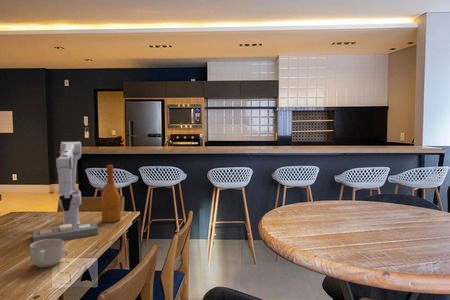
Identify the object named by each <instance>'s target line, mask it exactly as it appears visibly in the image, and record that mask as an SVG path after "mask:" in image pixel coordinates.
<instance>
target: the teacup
mask: <svg viewBox="0 0 450 300" xmlns="http://www.w3.org/2000/svg"><path fill="white" fill-rule="evenodd" d="M64 244H65V241H64V240H60V239H45V240H40V241H36V242H34V243H33V242H31V243H30V245H29V249H30V250H29V257H30V259H29V260H30V262H31V264H33V265H34V266H36V267H38V268H50V267H54V266H55V265H57V264H58V263H60V261H61V260H62V259H63V256H64V247H65V246H64Z"/></svg>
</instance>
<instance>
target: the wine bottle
mask: <svg viewBox="0 0 450 300" xmlns="http://www.w3.org/2000/svg"><path fill="white" fill-rule="evenodd" d="M106 174H107V180H106V183H104V185H103V187H102V188H103V189H102V190H103V192H102V195H101V200H100V203H101V204H100V207H101V208H100V209H101V210H100V211H101V220H102V222H103V223H116V222H119V221H121V219H122V218H121V217H122V204H121V203H122V202H121V195H120V192H119V191H118V188H117V187H116V184H115V181H114V165H113V164H106Z"/></svg>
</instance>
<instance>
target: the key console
mask: <svg viewBox="0 0 450 300" xmlns="http://www.w3.org/2000/svg"><path fill="white" fill-rule="evenodd" d="M85 224H90V226H91V227H87V228H81V229H79V228H78V226H79V225H85ZM51 229H52V232H53V233H48V234H41V235H40V232H39V231H44V230H51ZM98 234H99V227H98V226H97V224H96V223H95V221H88V222H87V221H86V222H80V224H73V225H72V230H68V231H61V232H60V230H59V226H54V227H45V228H40V229H39V228H38V229H34V230H32V241H33V242H32V243H34V242H36V241H40V240H45V239H60V240H63V241H64V240H65V241H66V240H72V239H76V238H81V237H82V238H84V237H87V236H88V237H90V236H95V235H96V236H97V235H98Z"/></svg>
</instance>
